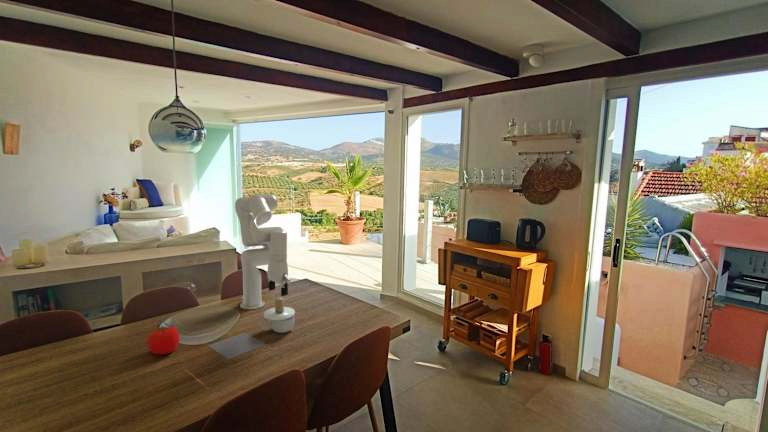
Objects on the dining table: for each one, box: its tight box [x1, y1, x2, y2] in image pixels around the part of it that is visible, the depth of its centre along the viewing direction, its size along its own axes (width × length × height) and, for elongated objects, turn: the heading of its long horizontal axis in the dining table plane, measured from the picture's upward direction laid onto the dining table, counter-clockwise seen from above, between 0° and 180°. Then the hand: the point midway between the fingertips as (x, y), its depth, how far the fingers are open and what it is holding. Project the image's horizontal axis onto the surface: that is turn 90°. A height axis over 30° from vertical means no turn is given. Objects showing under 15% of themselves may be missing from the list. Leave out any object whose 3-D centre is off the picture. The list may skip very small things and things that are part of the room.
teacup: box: [263, 315, 295, 334], centre depth 172 cm, size 14×11×8 cm
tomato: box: [146, 325, 180, 355], centre depth 149 cm, size 12×12×10 cm
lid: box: [263, 296, 296, 321], centre depth 171 cm, size 14×14×8 cm
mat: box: [207, 332, 266, 360], centre depth 156 cm, size 17×17×1 cm
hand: (278, 292), depth 170 cm, fingers open, 9 cm apart
